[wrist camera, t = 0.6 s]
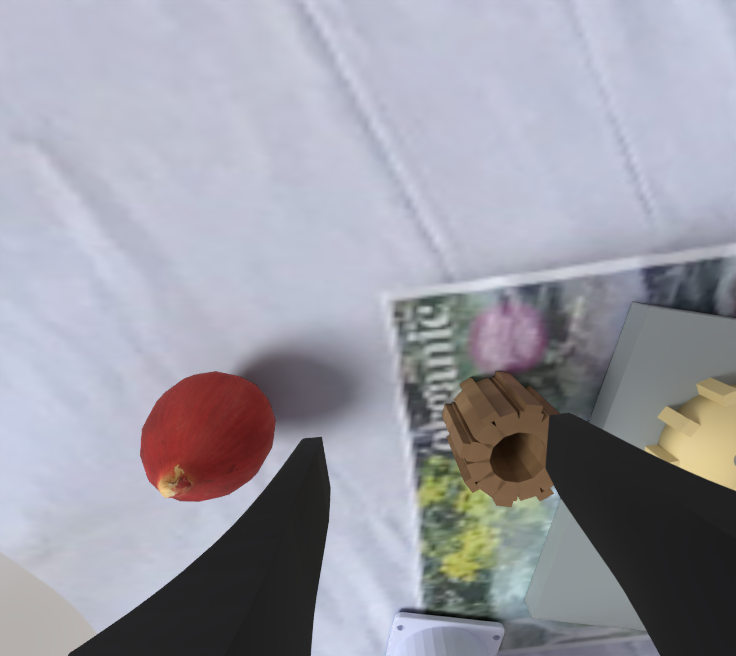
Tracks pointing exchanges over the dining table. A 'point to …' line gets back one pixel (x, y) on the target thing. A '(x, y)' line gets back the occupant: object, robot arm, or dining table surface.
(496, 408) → the walnut gear
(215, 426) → the onion
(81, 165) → the dining table surface
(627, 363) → the gear board
